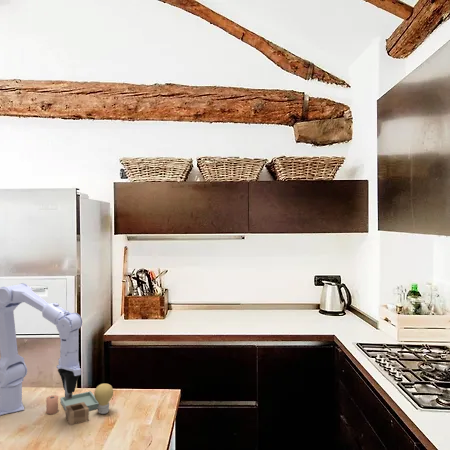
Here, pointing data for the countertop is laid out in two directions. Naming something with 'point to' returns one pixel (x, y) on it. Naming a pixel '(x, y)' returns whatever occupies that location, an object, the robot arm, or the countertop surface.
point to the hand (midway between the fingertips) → (69, 390)
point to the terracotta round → (52, 404)
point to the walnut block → (77, 413)
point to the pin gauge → (67, 395)
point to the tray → (81, 400)
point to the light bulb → (103, 397)
